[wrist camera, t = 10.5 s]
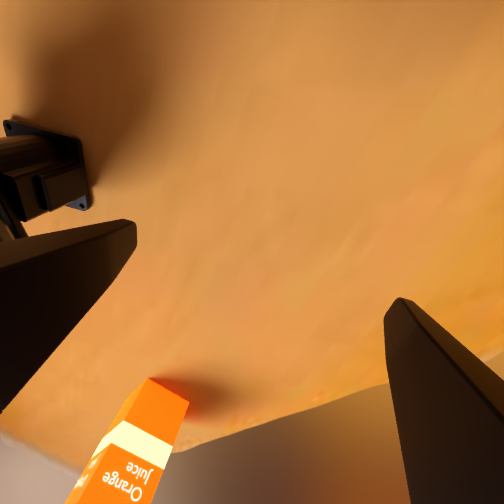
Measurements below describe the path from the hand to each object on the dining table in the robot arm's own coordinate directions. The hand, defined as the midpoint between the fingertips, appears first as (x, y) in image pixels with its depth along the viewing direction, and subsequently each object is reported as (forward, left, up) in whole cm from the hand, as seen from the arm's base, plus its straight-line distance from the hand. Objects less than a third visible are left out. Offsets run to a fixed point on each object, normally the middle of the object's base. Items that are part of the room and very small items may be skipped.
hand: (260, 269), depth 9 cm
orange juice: (-10, -40, -13) cm, 43 cm away
